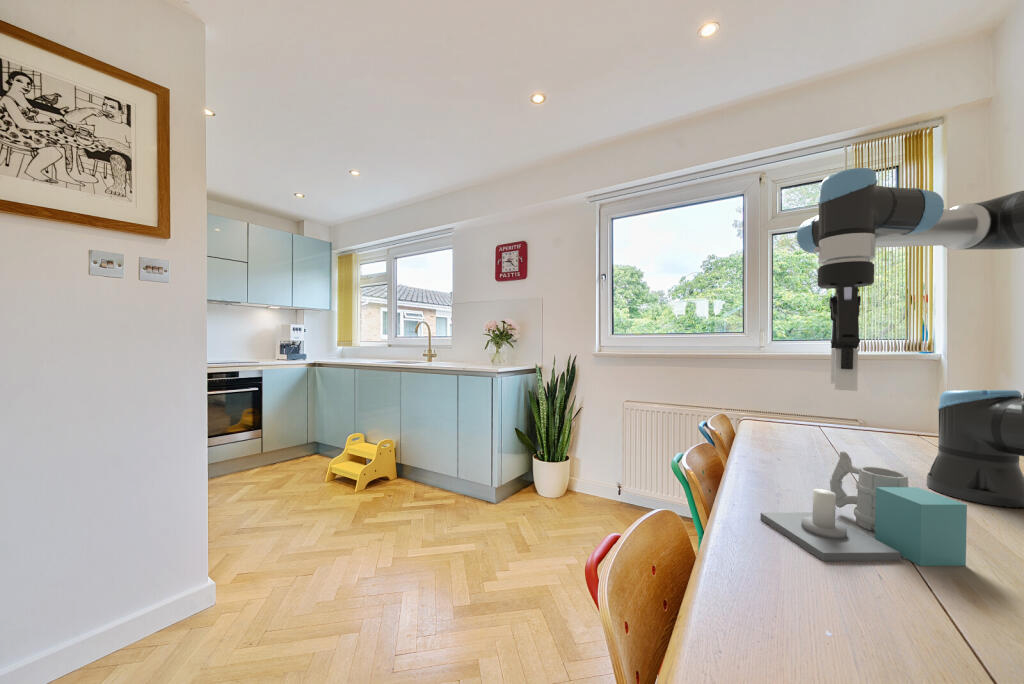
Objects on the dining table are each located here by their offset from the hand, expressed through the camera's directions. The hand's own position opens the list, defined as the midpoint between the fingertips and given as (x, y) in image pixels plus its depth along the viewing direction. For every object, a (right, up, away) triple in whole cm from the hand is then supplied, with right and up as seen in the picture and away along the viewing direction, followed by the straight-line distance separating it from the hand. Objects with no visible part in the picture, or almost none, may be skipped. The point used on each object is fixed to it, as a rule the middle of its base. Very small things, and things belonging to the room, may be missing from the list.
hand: (842, 386), depth 69 cm
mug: (+8, -25, +4) cm, 27 cm away
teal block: (+6, -25, -7) cm, 27 cm away
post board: (-5, -25, -2) cm, 26 cm away
